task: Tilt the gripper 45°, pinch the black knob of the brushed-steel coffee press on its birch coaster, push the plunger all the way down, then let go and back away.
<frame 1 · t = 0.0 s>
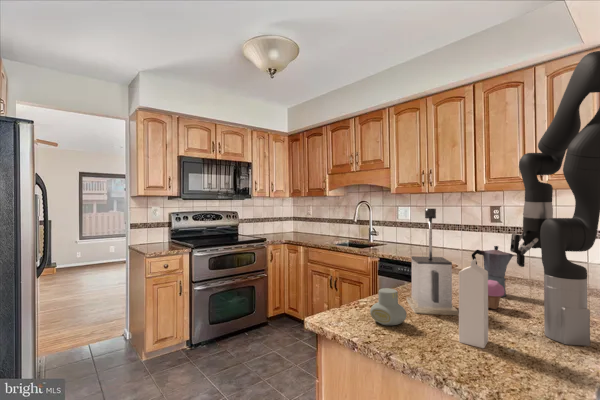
hand: (535, 266, 101), 17 cm above the worktop, tool pointing down, fingers open, 8 cm apart
plunger: (430, 242, 114), point 23 cm above the worktop, slide at 9.0 cm
milk: (473, 342, 86), on the worktop
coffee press: (430, 307, 114), on the worktop
moka pot: (492, 294, 131), on the worktop
cupcake: (489, 308, 114), on the worktop
air freshener: (388, 323, 99), on the worktop
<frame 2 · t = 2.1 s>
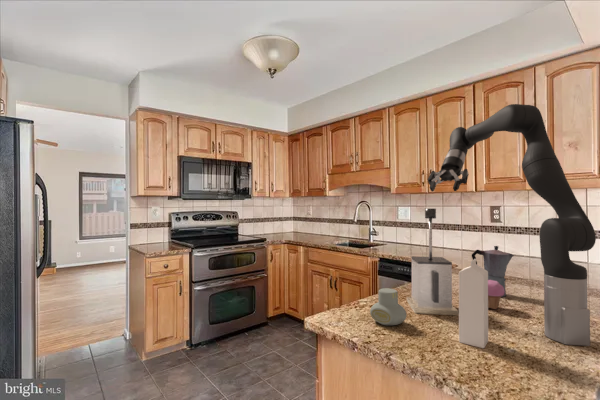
hand: (442, 189, 123), 43 cm above the worktop, tool tilted 45°, fingers open, 8 cm apart
nothing on the worktop moved.
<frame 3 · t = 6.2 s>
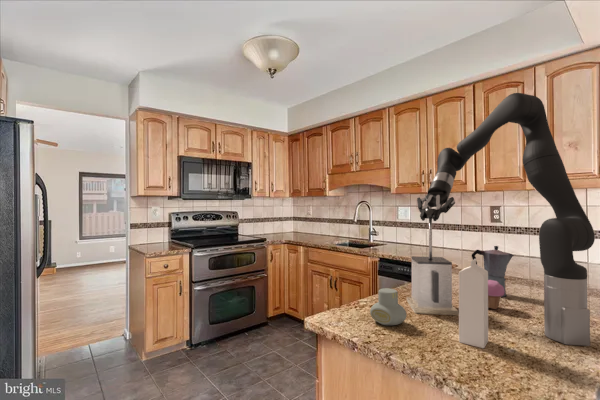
hand: (428, 219, 113), 32 cm above the worktop, tool tilted 45°, fingers closed on plunger, 3 cm apart
plunger: (430, 242, 114), point 23 cm above the worktop, slide at 9.0 cm, touching gripper
everything else where it was.
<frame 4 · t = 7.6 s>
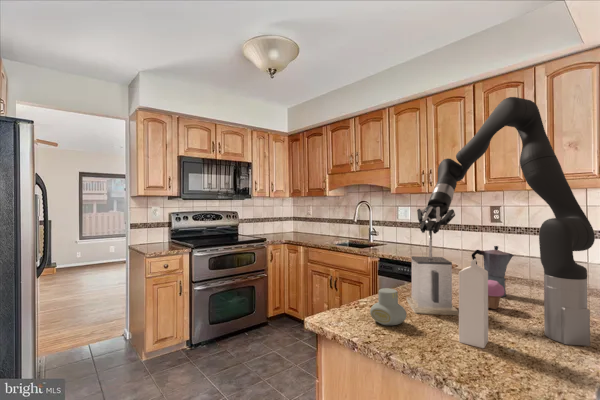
hand: (428, 231, 113), 27 cm above the worktop, tool tilted 45°, fingers closed on plunger, 3 cm apart
plunger: (430, 254, 114), point 19 cm above the worktop, slide at 4.6 cm, touching gripper
everything else where it was.
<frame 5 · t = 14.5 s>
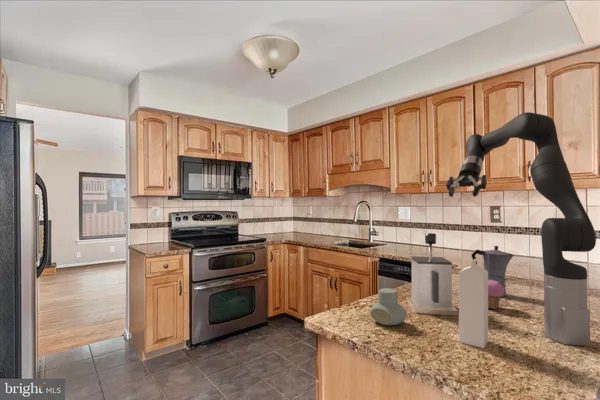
hand: (462, 195, 125), 41 cm above the worktop, tool tilted 45°, fingers open, 8 cm apart
plunger: (430, 267, 114), point 14 cm above the worktop, slide at 0.0 cm
everything else where it was.
at the end: plunger slide at 0.0 cm; the gripper is holding nothing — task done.
